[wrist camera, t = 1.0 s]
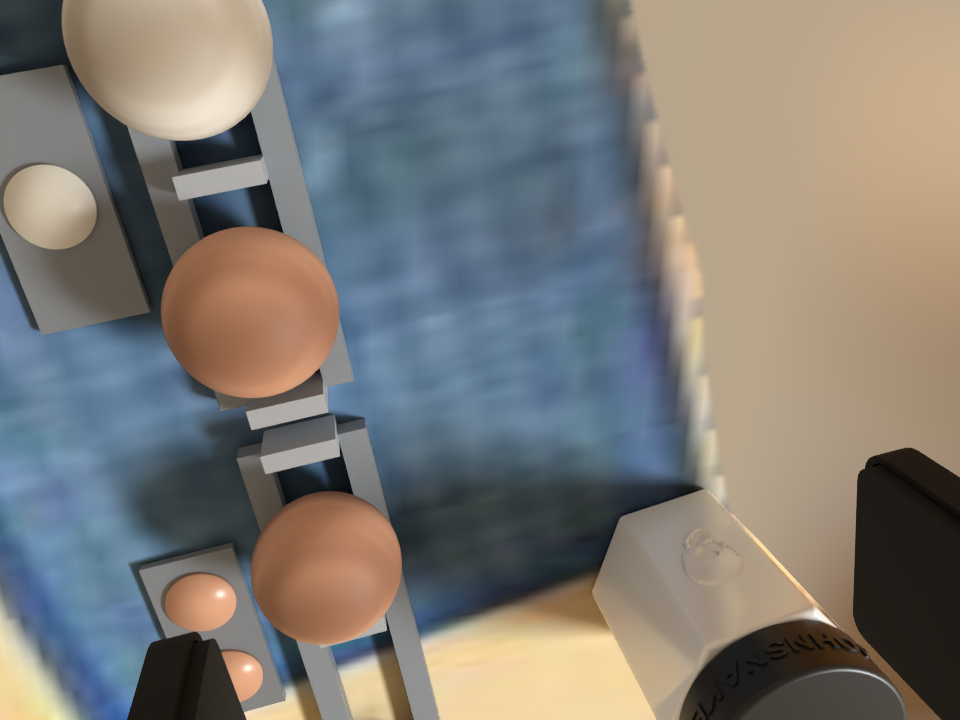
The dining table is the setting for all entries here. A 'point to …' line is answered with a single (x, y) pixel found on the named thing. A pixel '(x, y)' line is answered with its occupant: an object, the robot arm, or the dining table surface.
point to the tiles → (100, 298)
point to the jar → (728, 624)
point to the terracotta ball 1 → (250, 312)
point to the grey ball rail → (307, 399)
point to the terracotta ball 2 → (326, 568)
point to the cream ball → (171, 61)
